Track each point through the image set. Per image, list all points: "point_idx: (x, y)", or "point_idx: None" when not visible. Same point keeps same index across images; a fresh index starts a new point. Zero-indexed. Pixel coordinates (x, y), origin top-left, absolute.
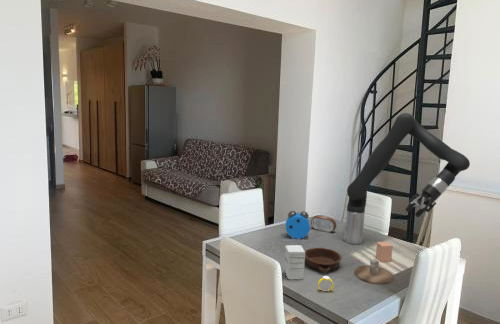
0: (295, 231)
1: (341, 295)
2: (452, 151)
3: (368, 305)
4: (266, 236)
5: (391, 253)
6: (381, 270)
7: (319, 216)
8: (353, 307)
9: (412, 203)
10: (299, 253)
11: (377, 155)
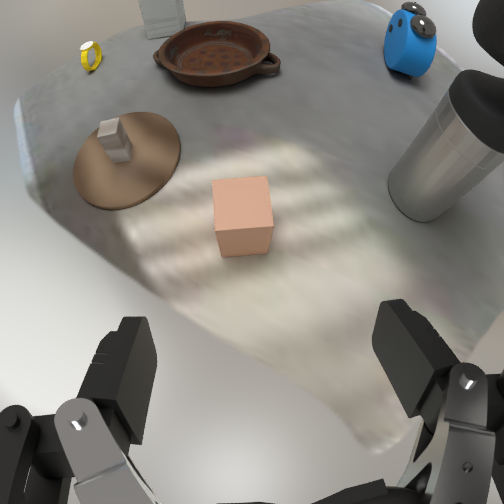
0: (389, 43)
1: (71, 86)
2: None
3: (28, 124)
4: (380, 27)
5: (218, 243)
6: (134, 181)
7: None
8: (35, 102)
9: (440, 400)
10: None
11: None
